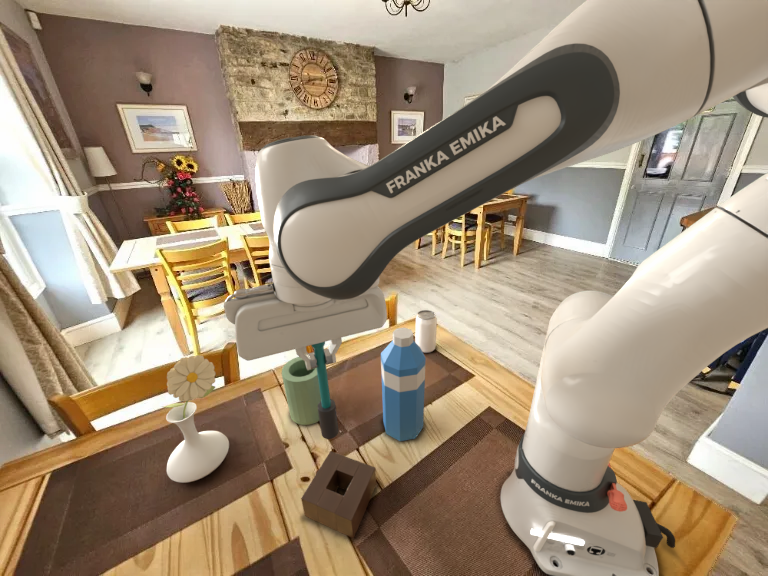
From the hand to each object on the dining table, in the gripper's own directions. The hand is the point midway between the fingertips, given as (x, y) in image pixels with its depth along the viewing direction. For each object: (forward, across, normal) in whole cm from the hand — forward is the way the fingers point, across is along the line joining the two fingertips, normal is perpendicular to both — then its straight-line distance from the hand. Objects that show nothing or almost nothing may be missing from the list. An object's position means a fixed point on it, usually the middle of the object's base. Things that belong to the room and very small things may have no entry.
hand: (321, 364), depth 46 cm
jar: (+30, -1, +22) cm, 37 cm away
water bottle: (+30, +18, +9) cm, 36 cm away
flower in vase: (+30, -24, +18) cm, 43 cm away
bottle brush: (+14, 0, 0) cm, 14 cm away
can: (+30, +38, +33) cm, 59 cm away
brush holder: (+30, 0, -2) cm, 30 cm away
